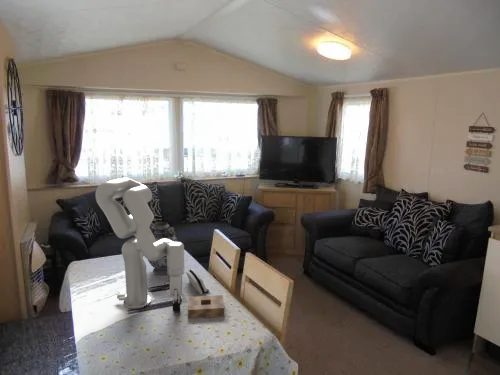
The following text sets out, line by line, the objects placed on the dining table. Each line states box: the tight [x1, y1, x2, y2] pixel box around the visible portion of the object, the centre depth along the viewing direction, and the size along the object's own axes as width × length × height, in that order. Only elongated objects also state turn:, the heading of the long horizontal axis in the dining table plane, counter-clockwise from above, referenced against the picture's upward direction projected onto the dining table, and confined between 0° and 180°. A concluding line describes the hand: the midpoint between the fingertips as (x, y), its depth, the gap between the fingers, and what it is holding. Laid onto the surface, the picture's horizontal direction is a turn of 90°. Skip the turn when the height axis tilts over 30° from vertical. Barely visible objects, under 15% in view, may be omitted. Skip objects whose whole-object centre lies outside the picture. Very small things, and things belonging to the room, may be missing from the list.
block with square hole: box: [187, 294, 225, 319], centre depth 175 cm, size 16×12×4 cm
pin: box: [173, 290, 181, 315], centre depth 172 cm, size 3×3×10 cm
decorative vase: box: [147, 221, 179, 276], centre depth 214 cm, size 21×19×28 cm
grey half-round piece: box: [185, 268, 210, 295], centre depth 197 cm, size 17×5×10 cm, turn 28°
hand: (177, 306), depth 173 cm, fingers open, 6 cm apart
